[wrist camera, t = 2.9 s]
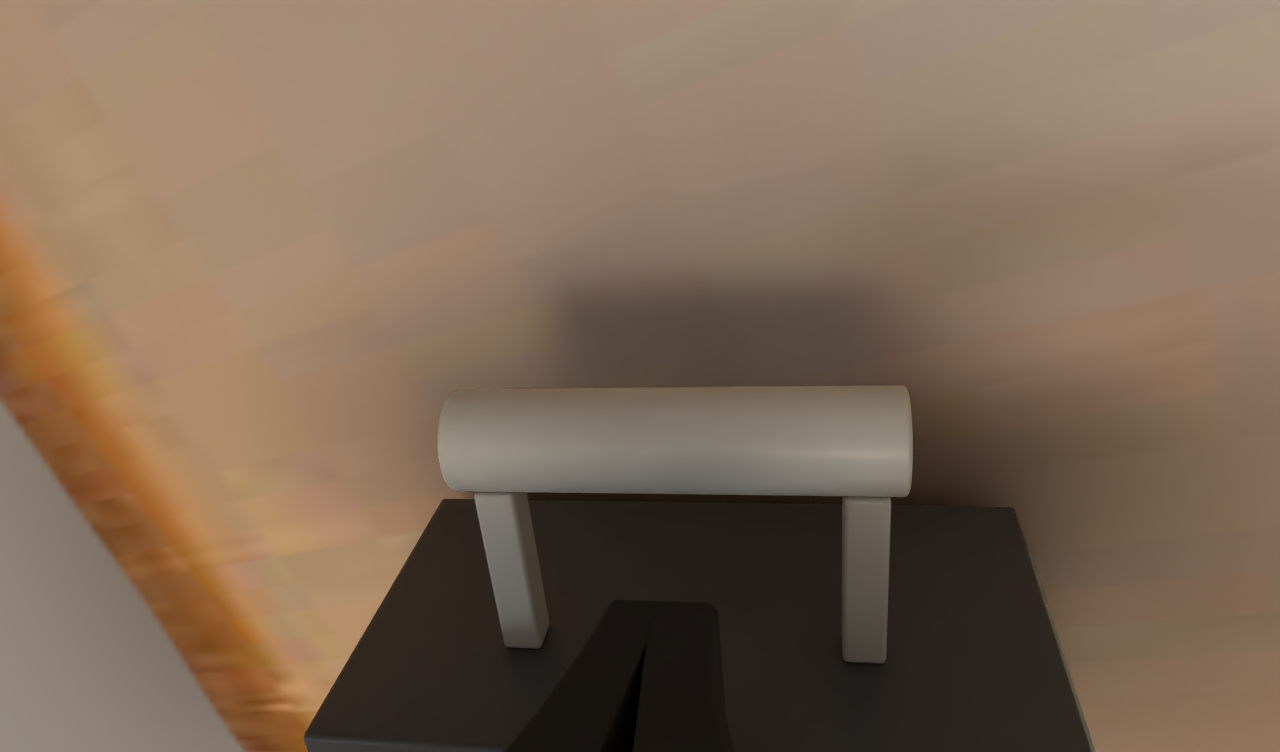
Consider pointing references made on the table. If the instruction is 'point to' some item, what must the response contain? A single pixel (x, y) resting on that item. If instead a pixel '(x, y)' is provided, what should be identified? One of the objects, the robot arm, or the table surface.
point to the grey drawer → (709, 577)
